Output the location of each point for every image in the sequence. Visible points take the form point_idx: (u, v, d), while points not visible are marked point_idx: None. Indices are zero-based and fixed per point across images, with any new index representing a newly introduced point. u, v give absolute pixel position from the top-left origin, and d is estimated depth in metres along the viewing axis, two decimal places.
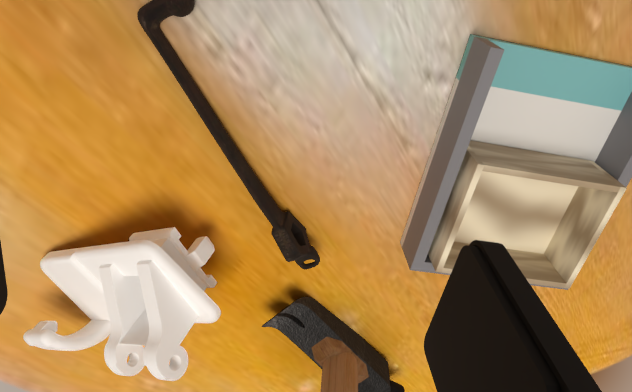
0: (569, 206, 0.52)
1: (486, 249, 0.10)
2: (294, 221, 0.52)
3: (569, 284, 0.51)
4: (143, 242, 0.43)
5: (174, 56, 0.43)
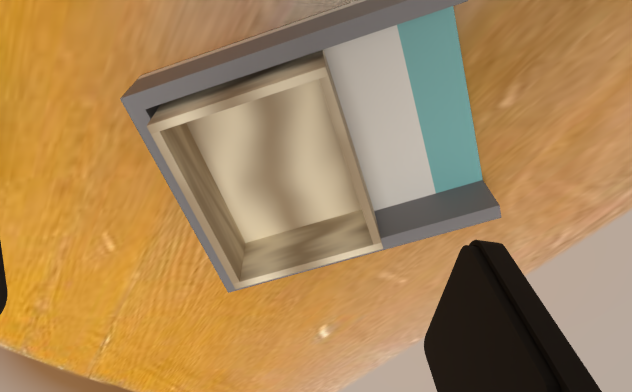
0: (314, 224, 0.42)
1: (486, 249, 0.10)
2: None
3: (240, 285, 0.39)
4: None
5: None
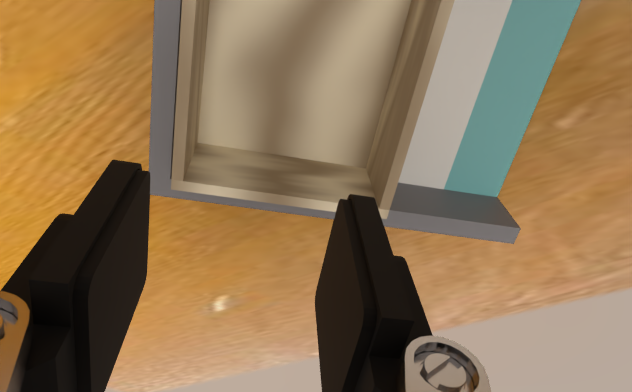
0: (298, 159, 0.31)
1: (355, 201, 0.10)
2: None
3: (181, 186, 0.26)
4: None
5: None
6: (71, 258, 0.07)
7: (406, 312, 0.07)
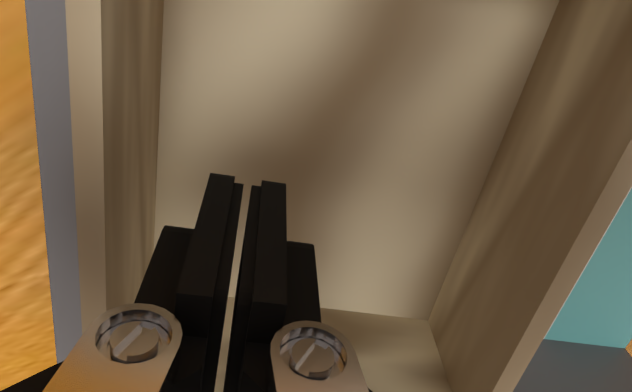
0: None
1: (263, 187, 0.10)
2: None
3: None
4: None
5: None
6: (206, 271, 0.07)
7: (280, 297, 0.07)
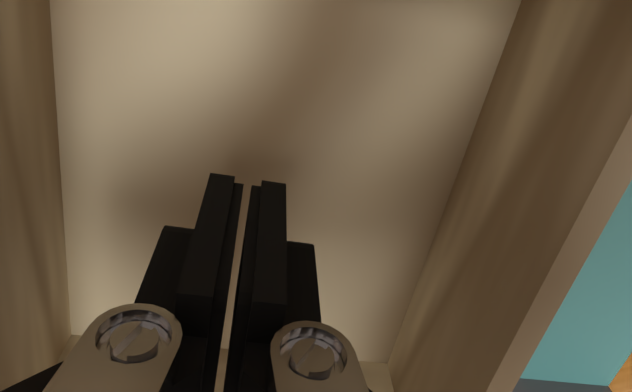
0: None
1: (263, 186, 0.10)
2: None
3: None
4: None
5: None
6: (206, 271, 0.07)
7: (281, 297, 0.07)
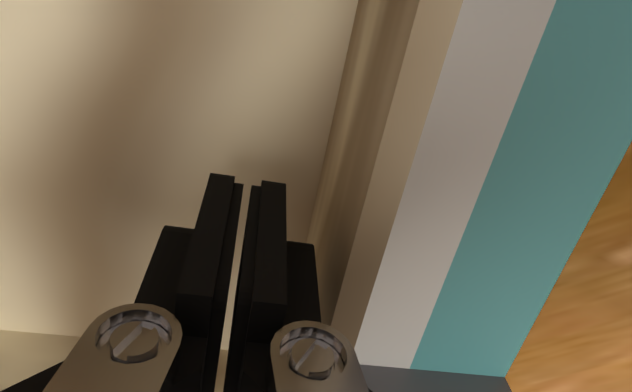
0: None
1: (263, 186, 0.10)
2: None
3: None
4: None
5: None
6: (206, 271, 0.07)
7: (281, 297, 0.07)
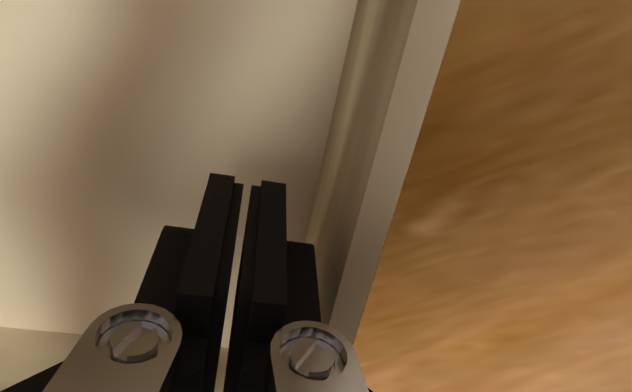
0: None
1: (263, 186, 0.10)
2: None
3: None
4: None
5: None
6: (206, 271, 0.07)
7: (280, 297, 0.07)
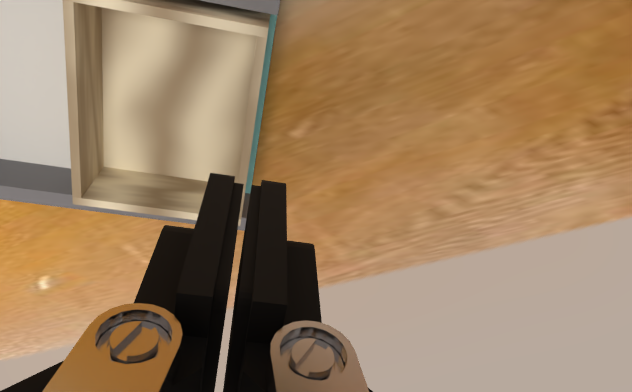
0: (183, 179, 0.40)
1: (263, 187, 0.10)
2: None
3: (80, 202, 0.35)
4: None
5: None
6: (206, 271, 0.07)
7: (281, 297, 0.07)
